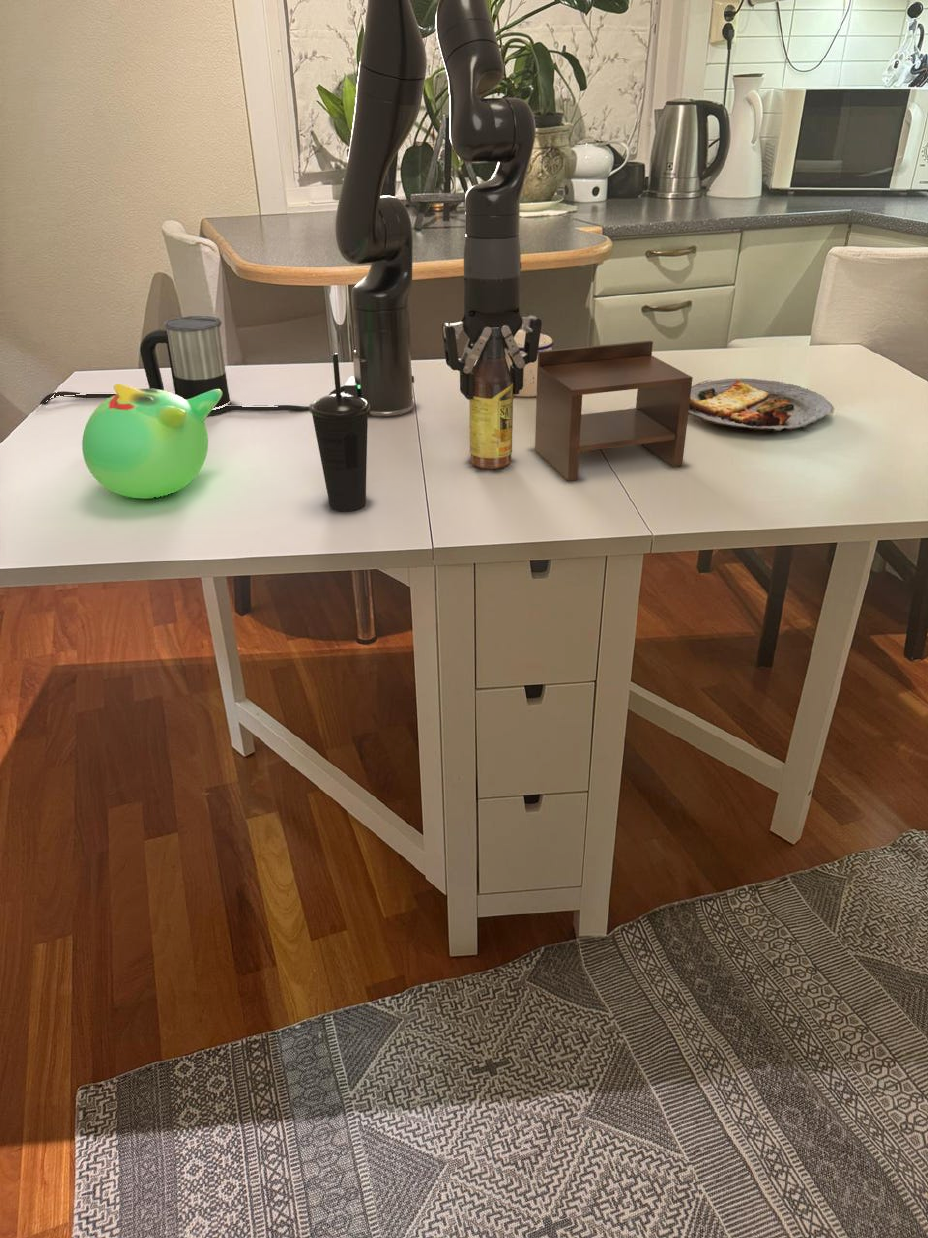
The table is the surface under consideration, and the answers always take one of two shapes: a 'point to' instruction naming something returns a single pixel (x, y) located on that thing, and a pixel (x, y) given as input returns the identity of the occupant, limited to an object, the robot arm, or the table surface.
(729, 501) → the table surface
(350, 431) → the drinking cup
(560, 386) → the shelf
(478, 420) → the sauce bottle
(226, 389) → the milk frother
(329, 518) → the table surface
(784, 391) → the food plate
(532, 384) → the teacup with lid
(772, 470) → the table surface
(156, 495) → the toy bird
